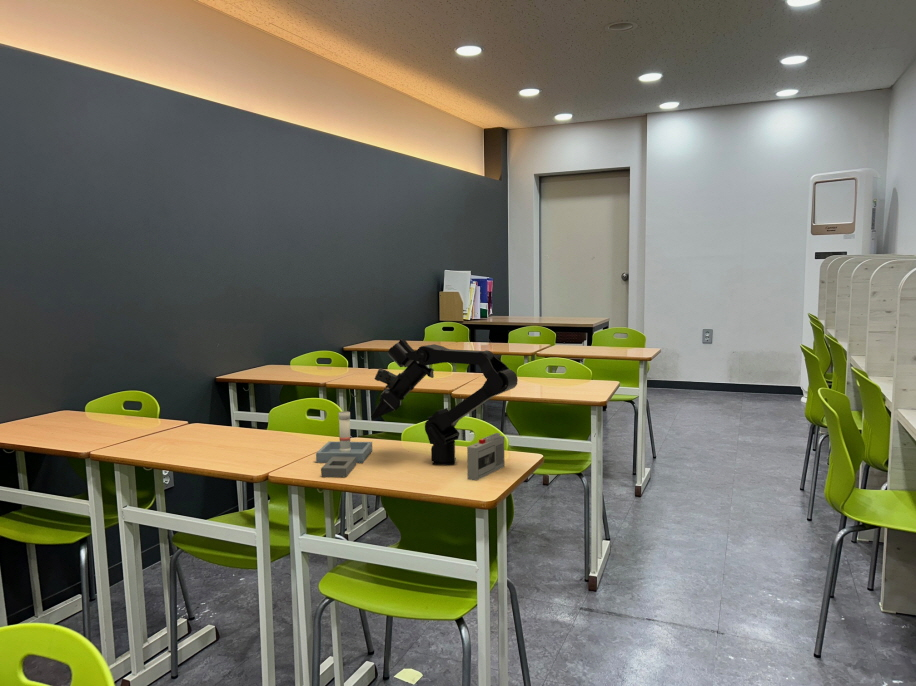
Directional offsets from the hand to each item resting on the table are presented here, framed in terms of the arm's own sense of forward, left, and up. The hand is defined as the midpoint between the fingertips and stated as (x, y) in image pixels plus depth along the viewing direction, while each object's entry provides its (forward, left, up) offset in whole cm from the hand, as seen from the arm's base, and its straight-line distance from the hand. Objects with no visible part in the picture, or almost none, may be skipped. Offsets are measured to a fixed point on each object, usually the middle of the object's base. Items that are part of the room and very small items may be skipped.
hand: (373, 414), depth 197 cm
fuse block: (+8, +13, -14) cm, 20 cm away
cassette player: (-34, +13, -14) cm, 39 cm away
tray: (+10, -2, -14) cm, 17 cm away
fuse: (+10, -2, -13) cm, 16 cm away
